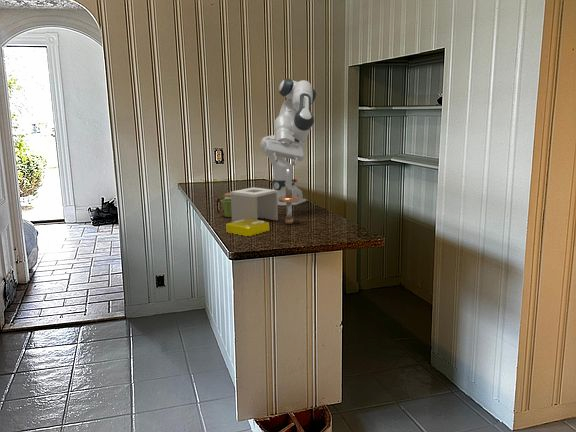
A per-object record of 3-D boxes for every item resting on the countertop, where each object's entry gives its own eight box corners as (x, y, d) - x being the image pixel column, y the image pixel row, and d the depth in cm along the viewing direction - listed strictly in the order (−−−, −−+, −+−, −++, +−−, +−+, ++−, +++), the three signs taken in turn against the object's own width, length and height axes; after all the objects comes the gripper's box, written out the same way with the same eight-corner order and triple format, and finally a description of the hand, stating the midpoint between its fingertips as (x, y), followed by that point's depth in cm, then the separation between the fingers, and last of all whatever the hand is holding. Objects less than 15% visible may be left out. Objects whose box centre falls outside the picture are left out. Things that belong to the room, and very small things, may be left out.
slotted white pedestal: (254, 216, 268) (253, 187, 265) (277, 219, 258) (277, 190, 255) (231, 221, 256) (230, 191, 253) (256, 226, 246) (255, 194, 243)
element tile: (247, 227, 246) (247, 217, 245) (271, 231, 237) (271, 221, 236) (224, 233, 235) (223, 222, 234) (248, 238, 226) (248, 227, 225)
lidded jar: (240, 209, 287) (240, 192, 285) (222, 208, 289) (221, 192, 287) (246, 205, 297) (245, 189, 295) (228, 205, 299) (227, 189, 297)
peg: (287, 219, 258) (286, 167, 252) (303, 222, 252) (303, 168, 246) (274, 223, 250) (273, 169, 245) (291, 226, 244) (290, 171, 239)
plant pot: (222, 218, 263) (222, 201, 261) (220, 215, 272) (219, 198, 270) (241, 217, 266) (240, 200, 264) (237, 214, 274) (237, 197, 273)
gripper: (266, 133, 259) (267, 154, 251) (304, 141, 266) (306, 163, 258) (262, 141, 263) (263, 162, 256) (299, 149, 270) (301, 170, 263)
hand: (285, 163), depth 257 cm, fingers open, 8 cm apart
